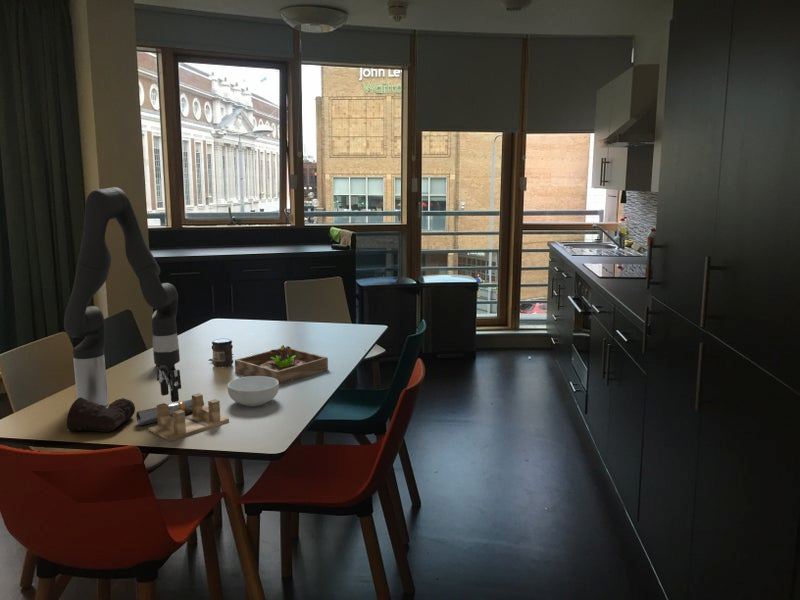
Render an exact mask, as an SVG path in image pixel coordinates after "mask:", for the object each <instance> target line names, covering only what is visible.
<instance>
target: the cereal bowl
mask: <svg viewBox="0 0 800 600" xmlns="http://www.w3.org/2000/svg"><path fill="white" fill-rule="evenodd" d="M279 386H280V385H279V382H278V380H277V379H275V378H271V377H266V376H243V377H238V378H235V379H232V380H231V381H229V382H228V383H227V393H228V395H229V397H230V399H231V400H232V401H234V402H235V403H237V404H241V405H242V406H245V407H250V408H251V407H259V406H262V405H265V404H266V403H268V402H270V401H272V400H273V399H275V397H276V396H277V395H278V393H279Z"/></svg>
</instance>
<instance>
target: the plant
mask: <svg viewBox="0 0 800 600" xmlns="http://www.w3.org/2000/svg"><path fill="white" fill-rule="evenodd" d="M284 347H286V349H285V348H284ZM280 348H281V350H283V351H282V353H281V352H280V351H278V350H275V349H271V350H269V351H270V353H273V352H274V351H276V352H278V353H279V354H280V357H279V356H277V355H276V358H277V359H276V358H274V357H271V358H272V359H273V360H271V361H266V362H265V363H263V364H261V365H260V366H262V367H265V368H269V369H272V370H276V371H280V370H283V369H287V368H290V367H294V366H297V365H300V364H304V363H307V361H304V360H295V359H294V358H295V357H296V355H294V356H292V357H290V358H289V356H288V354H287V348H288V350H291V349H292V347H291V346H288V345H287V346H284V345H281V346H280Z"/></svg>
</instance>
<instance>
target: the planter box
mask: <svg viewBox="0 0 800 600" xmlns="http://www.w3.org/2000/svg"><path fill="white" fill-rule="evenodd" d="M286 347H287V346H284V348H285V349H286ZM274 350H278V351H280V352H281V353H282V351H283V350H281V347H280V348H276V349H274ZM270 351H271V350H269V351H264V352H261V353H257V354H252V355H248V356H245V357H241V358H237V359H234V369H235V370H234V371H235V373H237V374H240V375H243V376H245V377H247V376H266V377H271V378H275V379H277V380H278V382H279V386H280V385H283V384H285V383H286V384H287V383H290V382H293V381H296V380H300V379H302V378H306V377H309V376H312V375H316V374H318V373H321V372H326V371H328V370H329V360H328V359H329V357H327V356H323V355H319V354H315V353H310V352H307V351H303V350H299V349H294V348H291V350H288V348H287V354H288V356H289V358H290V357H292V356H294V355H296V357H295V358H294V359H295V360H304V361H307V363H304V364H300V365H297V366H294V367H290V368H287V369H283V370H280V371H276V370H272V369H269V368H265V367H262V366H260V365H261V364H263V363H265V362H266V361H271V360H273V359H272V358H271V357H274V358H276V355H277V356H279V357H280V354H279V353H278V352H276V351H274V352H273V353H270ZM276 359H277V358H276Z"/></svg>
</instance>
